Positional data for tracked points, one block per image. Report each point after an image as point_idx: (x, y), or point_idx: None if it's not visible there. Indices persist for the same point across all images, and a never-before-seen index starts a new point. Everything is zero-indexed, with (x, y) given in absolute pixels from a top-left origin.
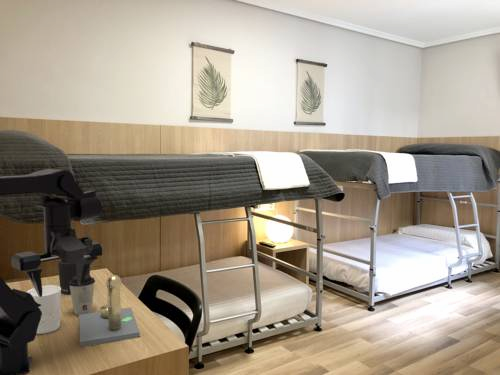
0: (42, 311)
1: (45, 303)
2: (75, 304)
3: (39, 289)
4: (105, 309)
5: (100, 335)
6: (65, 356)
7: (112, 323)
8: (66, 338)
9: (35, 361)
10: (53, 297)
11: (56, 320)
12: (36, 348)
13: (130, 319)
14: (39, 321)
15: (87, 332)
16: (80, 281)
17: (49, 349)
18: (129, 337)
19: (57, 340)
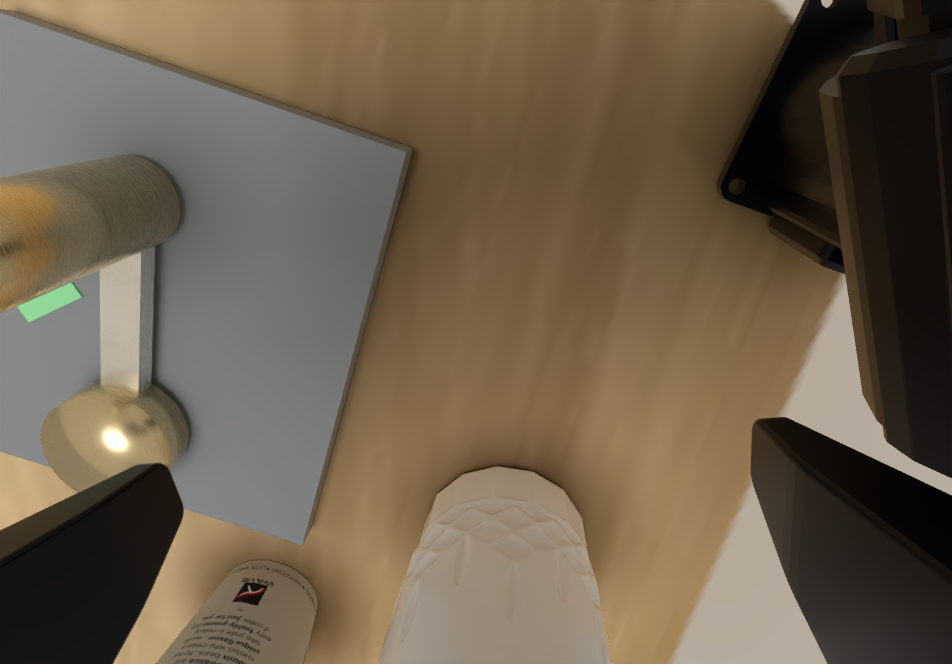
0: (542, 573)
1: (519, 616)
2: (292, 637)
3: (882, 471)
4: (131, 437)
5: (256, 156)
6: (535, 69)
7: (127, 175)
8: (447, 330)
9: (711, 134)
10: (448, 645)
11: (451, 514)
12: (636, 315)
13: None
14: (829, 83)
15: (322, 267)
16: (106, 509)
17: (581, 248)
18: (81, 34)
19: (500, 339)
